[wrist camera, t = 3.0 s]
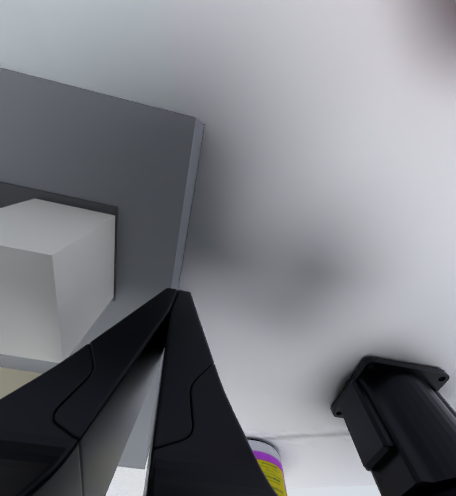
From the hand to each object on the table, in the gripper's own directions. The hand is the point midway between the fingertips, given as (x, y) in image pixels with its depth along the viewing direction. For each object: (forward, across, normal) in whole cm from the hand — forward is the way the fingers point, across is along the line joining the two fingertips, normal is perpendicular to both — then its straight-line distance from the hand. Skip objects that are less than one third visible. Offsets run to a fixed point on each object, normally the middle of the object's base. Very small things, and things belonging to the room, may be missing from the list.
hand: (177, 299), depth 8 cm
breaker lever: (+2, +5, 0) cm, 5 cm away
